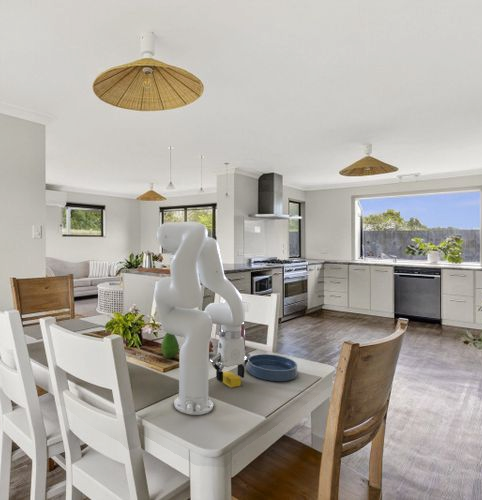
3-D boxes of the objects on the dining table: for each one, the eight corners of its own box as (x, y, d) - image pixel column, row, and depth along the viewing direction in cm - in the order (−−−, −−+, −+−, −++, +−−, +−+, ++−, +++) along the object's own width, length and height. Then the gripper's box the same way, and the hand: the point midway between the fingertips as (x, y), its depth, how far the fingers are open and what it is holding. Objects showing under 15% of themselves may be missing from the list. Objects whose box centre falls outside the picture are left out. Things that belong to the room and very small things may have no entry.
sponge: (240, 385, 134) (240, 377, 134) (230, 387, 132) (230, 379, 132) (229, 378, 140) (229, 371, 140) (219, 380, 138) (219, 372, 138)
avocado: (159, 360, 160) (159, 333, 160) (163, 354, 168) (163, 329, 167) (177, 361, 158) (177, 335, 158) (180, 356, 166) (180, 330, 166)
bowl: (303, 383, 136) (303, 371, 136) (251, 381, 138) (251, 369, 138) (289, 365, 155) (289, 355, 155) (244, 363, 157) (244, 353, 157)
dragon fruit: (212, 355, 172) (197, 366, 163) (199, 342, 175) (184, 352, 167) (220, 344, 167) (206, 354, 158) (207, 331, 171) (192, 340, 162)
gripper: (217, 339, 128) (216, 386, 129) (255, 333, 136) (255, 378, 137) (205, 334, 135) (205, 378, 136) (243, 329, 143) (242, 371, 143)
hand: (230, 378), depth 136 cm, fingers open, 9 cm apart
